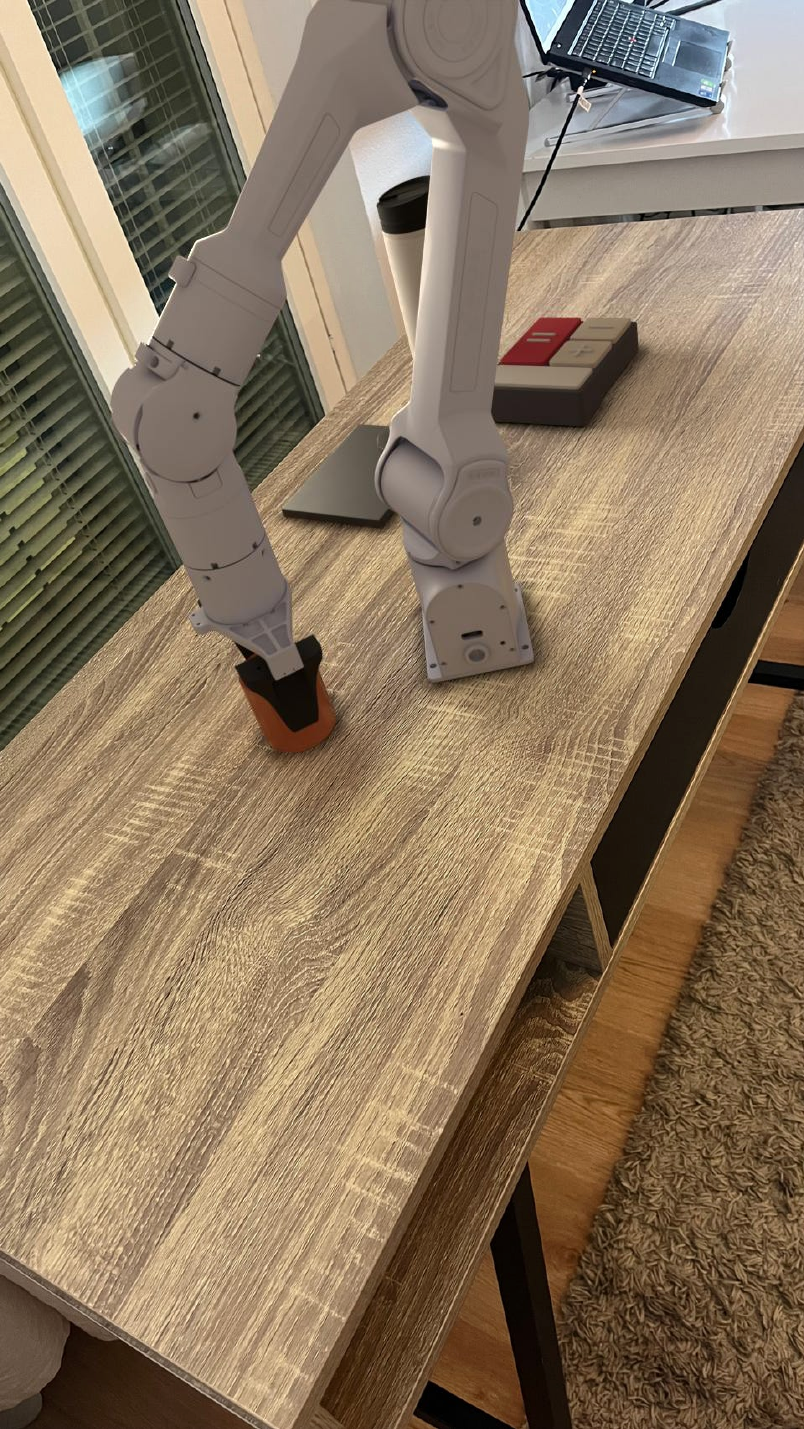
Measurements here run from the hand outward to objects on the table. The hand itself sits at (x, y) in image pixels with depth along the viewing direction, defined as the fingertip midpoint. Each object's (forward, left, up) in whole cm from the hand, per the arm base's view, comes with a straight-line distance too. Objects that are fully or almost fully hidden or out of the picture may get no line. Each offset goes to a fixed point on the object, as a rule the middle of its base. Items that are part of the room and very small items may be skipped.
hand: (286, 694), depth 78 cm
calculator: (+42, -26, -4) cm, 50 cm away
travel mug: (+49, -15, -4) cm, 51 cm away
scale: (+33, -6, -3) cm, 34 cm away
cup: (0, 0, -3) cm, 3 cm away
